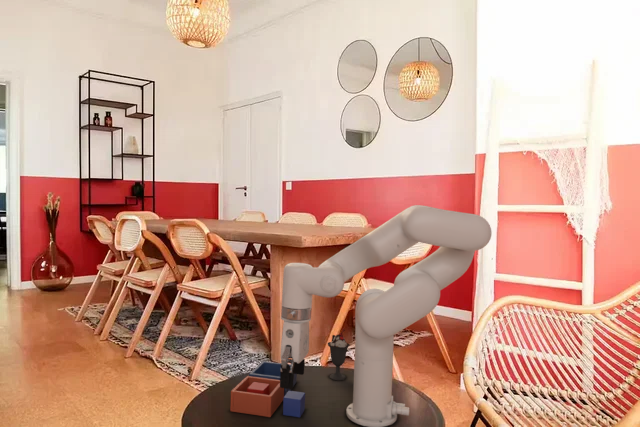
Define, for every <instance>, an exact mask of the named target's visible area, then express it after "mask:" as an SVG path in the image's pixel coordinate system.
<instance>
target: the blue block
mask: <svg viewBox="0 0 640 427" xmlns="http://www.w3.org/2000/svg"><path fill="white" fill-rule="evenodd" d="M282 402H283V404H282V415H283V416H288V417H294V418H301V416H302V415H303V414H304V412H305V408H306V392H302V391H295V390H290V391H288V392H287V394H286V395H285V396H284V398H283V401H282Z"/></svg>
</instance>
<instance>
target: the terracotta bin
mask: <svg viewBox="0 0 640 427" xmlns="http://www.w3.org/2000/svg"><path fill="white" fill-rule="evenodd" d="M253 382H258V383H265V384H269V395H264V394H257V393H249V392H247V388H248V387H249V386H250V385H251V384H252V383H253ZM283 398H284V388H281V387H280V380H275V379H267V378H260V377H252V376H249V375H247V376H245V377H244V378H243V379H242V380H241V381H240V382H238V384H237V385H235V387H233V388H232V389H231V390H230V412H231V413H241V414H246V415H253V416H259V417H265V418H271V417H272V416H273V414H274V413H275V412H276V411H277V409H278V408H279V406H280V405H281V404H282V402H283Z"/></svg>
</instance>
